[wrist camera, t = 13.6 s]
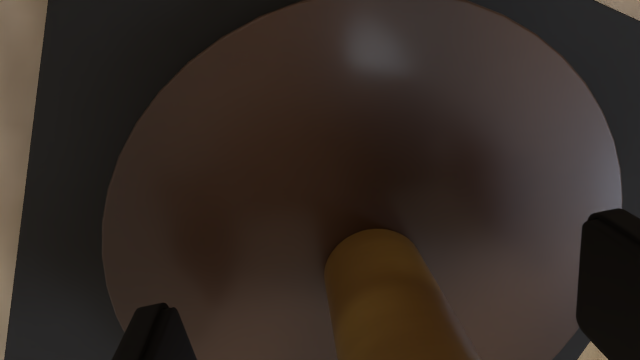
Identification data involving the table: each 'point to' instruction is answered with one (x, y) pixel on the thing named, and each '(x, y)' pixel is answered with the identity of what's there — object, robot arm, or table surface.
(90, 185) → the mat
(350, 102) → the tin lid
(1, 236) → the table surface
